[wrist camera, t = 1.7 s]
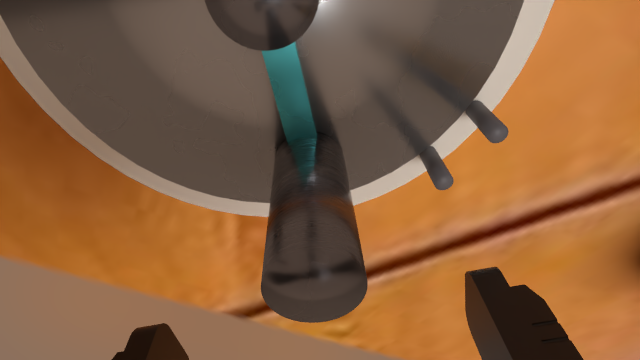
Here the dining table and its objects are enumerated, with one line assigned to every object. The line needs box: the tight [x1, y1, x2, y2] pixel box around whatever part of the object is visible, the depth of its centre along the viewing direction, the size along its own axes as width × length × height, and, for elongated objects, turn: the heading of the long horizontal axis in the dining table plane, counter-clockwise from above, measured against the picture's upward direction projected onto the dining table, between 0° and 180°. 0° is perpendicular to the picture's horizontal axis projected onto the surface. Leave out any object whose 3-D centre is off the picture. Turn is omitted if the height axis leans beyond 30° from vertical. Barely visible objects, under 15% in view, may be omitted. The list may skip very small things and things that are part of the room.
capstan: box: [0, 0, 524, 323], centre depth 11 cm, size 18×18×8 cm
